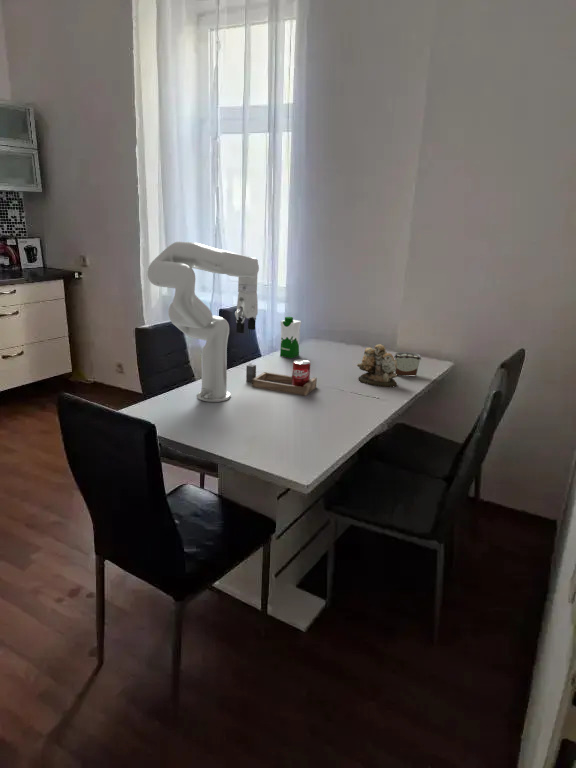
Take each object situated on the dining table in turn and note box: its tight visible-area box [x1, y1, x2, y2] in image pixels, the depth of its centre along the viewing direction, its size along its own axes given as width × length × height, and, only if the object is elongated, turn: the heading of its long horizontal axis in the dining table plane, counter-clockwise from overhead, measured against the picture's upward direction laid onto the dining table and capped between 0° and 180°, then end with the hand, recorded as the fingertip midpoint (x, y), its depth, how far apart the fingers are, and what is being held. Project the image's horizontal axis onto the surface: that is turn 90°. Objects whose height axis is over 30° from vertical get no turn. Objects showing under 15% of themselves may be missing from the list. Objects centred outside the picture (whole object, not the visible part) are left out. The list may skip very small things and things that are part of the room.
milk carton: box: [279, 316, 302, 359], centre depth 264 cm, size 9×9×20 cm
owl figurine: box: [356, 343, 398, 388], centre depth 227 cm, size 18×12×17 cm, turn 65°
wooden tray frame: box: [245, 363, 318, 396], centre depth 218 cm, size 12×29×7 cm, turn 68°
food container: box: [393, 351, 422, 376], centre depth 242 cm, size 12×6×10 cm, turn 84°
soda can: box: [291, 359, 312, 387], centre depth 214 cm, size 7×7×12 cm
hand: (245, 330), depth 216 cm, fingers open, 9 cm apart
